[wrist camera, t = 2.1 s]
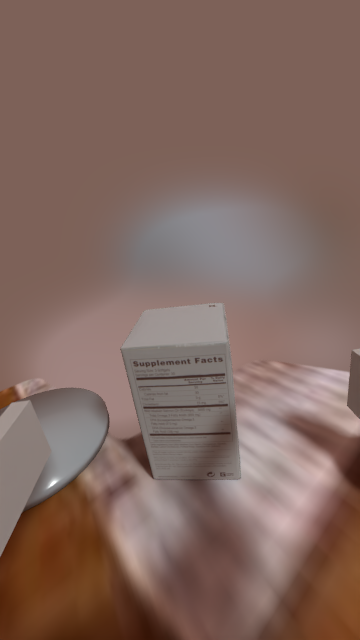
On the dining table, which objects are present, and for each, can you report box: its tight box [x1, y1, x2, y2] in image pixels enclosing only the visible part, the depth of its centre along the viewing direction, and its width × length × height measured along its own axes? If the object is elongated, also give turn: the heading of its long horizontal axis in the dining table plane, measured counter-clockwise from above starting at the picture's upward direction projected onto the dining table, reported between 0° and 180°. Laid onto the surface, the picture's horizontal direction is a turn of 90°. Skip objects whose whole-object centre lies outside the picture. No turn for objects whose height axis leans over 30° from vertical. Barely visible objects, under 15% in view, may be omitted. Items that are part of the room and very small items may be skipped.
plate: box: [0, 388, 109, 512], centre depth 29 cm, size 16×16×1 cm
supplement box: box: [120, 303, 241, 480], centre depth 23 cm, size 7×7×13 cm
